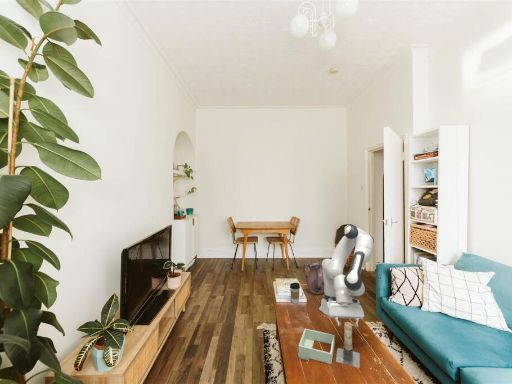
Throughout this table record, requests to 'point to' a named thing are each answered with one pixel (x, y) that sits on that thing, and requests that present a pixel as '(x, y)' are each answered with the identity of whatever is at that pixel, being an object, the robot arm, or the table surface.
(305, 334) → the bin
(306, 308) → the table surface
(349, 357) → the strut
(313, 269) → the ceramic pitcher
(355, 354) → the stud plate
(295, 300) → the coffee cup
